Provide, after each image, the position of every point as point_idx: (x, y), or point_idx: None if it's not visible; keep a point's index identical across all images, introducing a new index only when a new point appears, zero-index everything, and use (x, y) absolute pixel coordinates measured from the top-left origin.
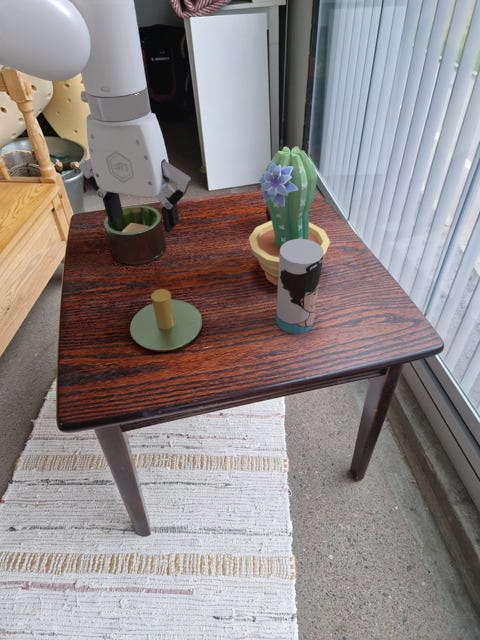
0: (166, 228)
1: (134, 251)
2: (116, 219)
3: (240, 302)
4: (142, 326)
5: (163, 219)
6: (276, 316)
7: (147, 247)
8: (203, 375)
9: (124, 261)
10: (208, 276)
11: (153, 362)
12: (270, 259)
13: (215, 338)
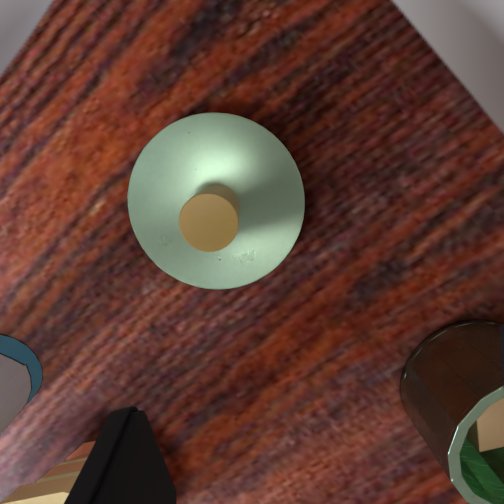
0: (113, 427)
1: (454, 357)
2: (501, 353)
3: (133, 357)
4: (259, 165)
5: (107, 482)
6: (23, 358)
7: (430, 385)
8: (44, 131)
9: (466, 325)
10: (252, 387)
11: (166, 97)
12: (52, 496)
13: (102, 238)
